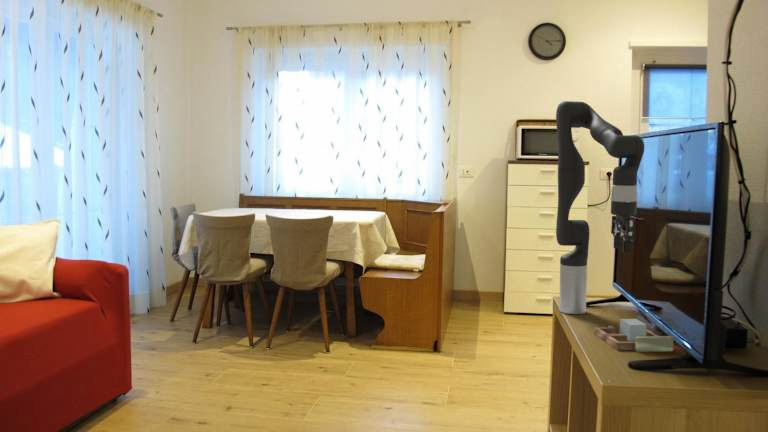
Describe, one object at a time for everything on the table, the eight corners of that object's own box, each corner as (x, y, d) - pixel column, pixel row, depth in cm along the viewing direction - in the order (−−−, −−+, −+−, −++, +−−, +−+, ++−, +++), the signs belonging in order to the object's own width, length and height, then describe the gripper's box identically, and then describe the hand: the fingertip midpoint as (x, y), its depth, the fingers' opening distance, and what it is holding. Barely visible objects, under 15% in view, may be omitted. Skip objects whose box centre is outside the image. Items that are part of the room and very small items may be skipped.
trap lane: (592, 332, 187) (592, 319, 187) (640, 331, 188) (640, 319, 188) (619, 351, 167) (619, 338, 167) (673, 351, 168) (673, 337, 168)
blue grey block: (619, 334, 185) (620, 318, 185) (635, 334, 185) (635, 318, 185) (629, 341, 178) (630, 324, 178) (645, 340, 178) (646, 324, 178)
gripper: (604, 197, 193) (602, 247, 195) (619, 201, 179) (617, 254, 180) (627, 197, 193) (625, 247, 194) (645, 201, 178) (642, 254, 180)
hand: (622, 250), depth 187 cm, fingers open, 8 cm apart
